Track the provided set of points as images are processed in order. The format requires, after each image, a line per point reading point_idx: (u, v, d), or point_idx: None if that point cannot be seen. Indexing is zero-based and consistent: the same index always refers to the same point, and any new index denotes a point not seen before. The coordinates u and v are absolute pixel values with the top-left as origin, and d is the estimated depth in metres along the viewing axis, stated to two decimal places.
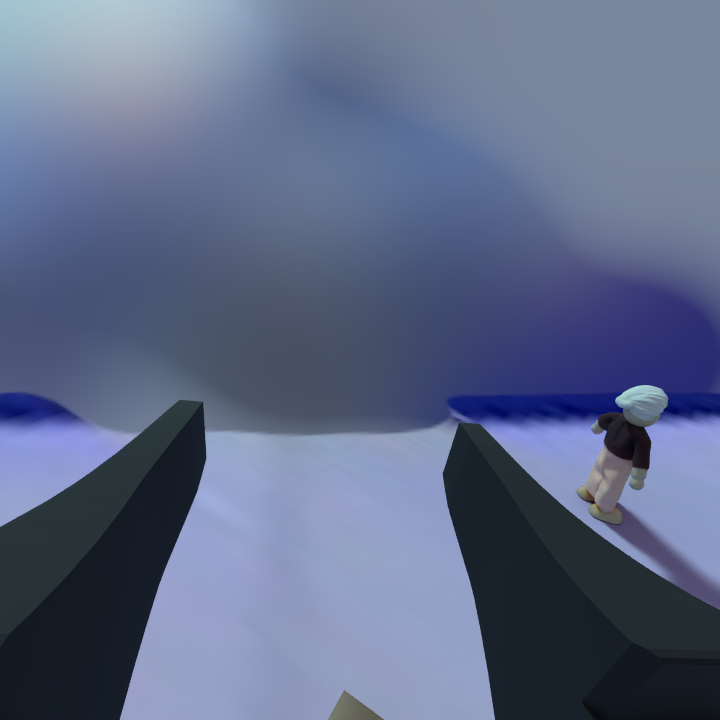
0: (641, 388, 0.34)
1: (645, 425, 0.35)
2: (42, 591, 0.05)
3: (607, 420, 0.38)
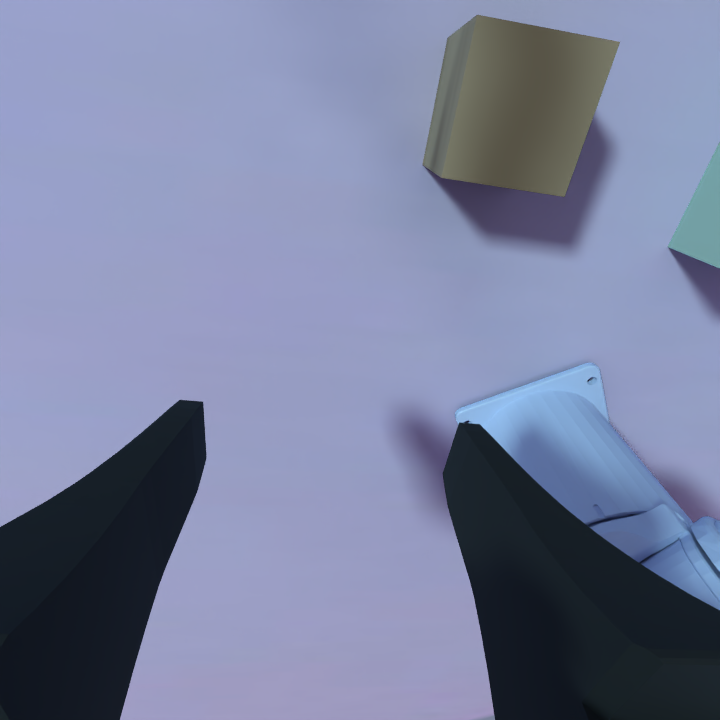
0: None
1: None
2: (42, 591, 0.05)
3: None
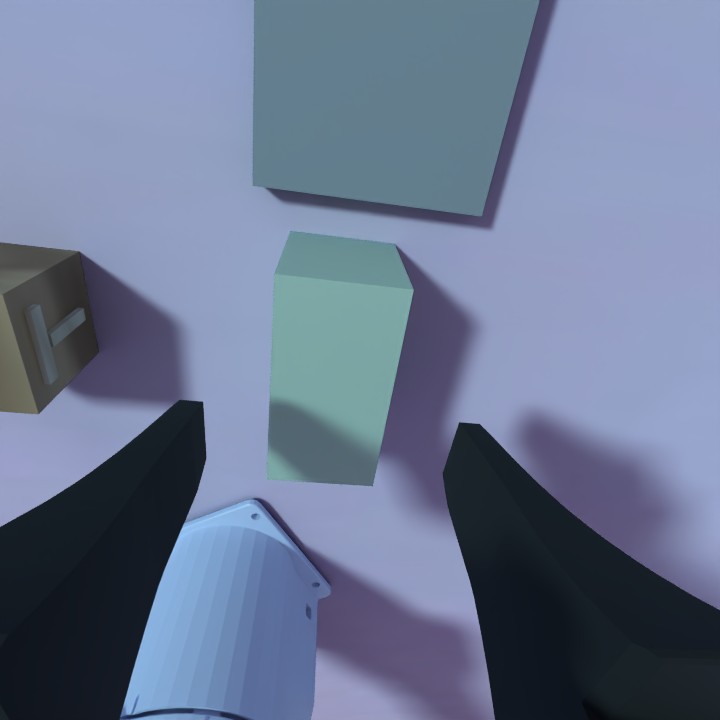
0: None
1: None
2: (42, 591, 0.05)
3: None
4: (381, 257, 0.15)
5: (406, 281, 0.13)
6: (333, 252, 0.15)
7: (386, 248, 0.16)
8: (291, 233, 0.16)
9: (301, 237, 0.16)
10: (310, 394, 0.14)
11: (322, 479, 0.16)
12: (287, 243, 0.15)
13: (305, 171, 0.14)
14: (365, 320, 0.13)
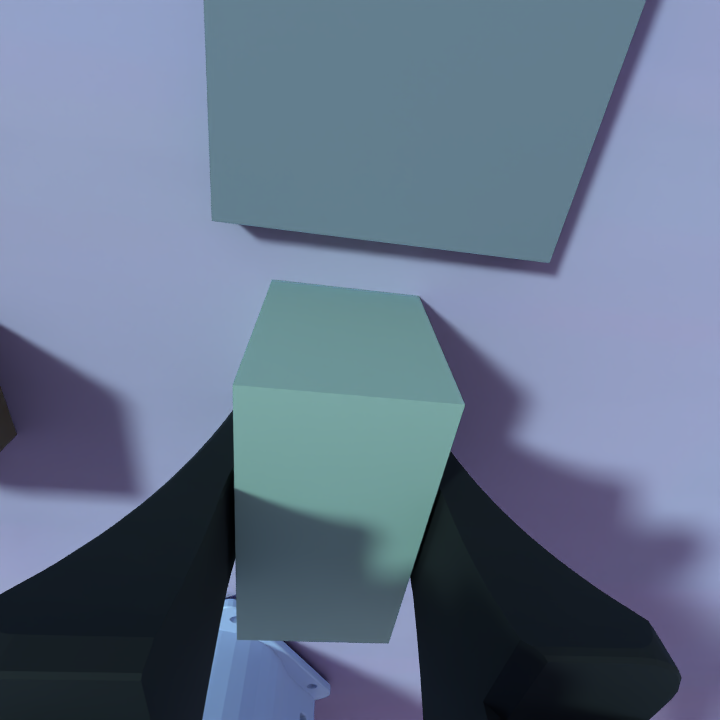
0: None
1: None
2: (167, 595, 0.06)
3: None
4: (404, 328, 0.10)
5: (449, 383, 0.08)
6: (332, 323, 0.10)
7: (409, 308, 0.11)
8: (272, 286, 0.11)
9: (285, 293, 0.11)
10: (297, 543, 0.09)
11: (316, 638, 0.11)
12: (263, 308, 0.10)
13: (290, 199, 0.09)
14: (383, 448, 0.08)
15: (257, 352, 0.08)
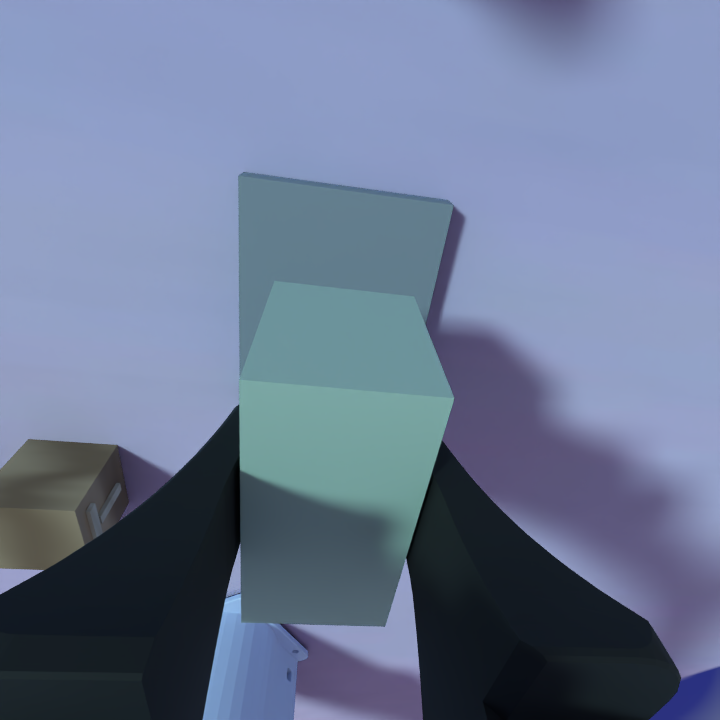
0: None
1: None
2: (167, 595, 0.06)
3: None
4: (399, 327, 0.10)
5: (441, 378, 0.09)
6: (332, 322, 0.10)
7: (404, 308, 0.12)
8: (274, 287, 0.12)
9: (287, 293, 0.11)
10: (299, 528, 0.10)
11: (317, 621, 0.12)
12: (267, 308, 0.10)
13: None
14: (379, 439, 0.09)
15: (261, 349, 0.09)
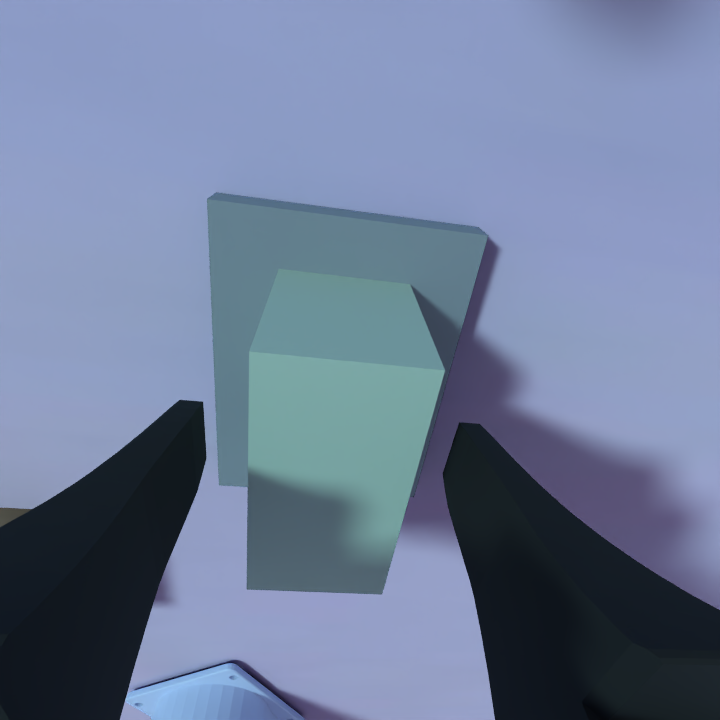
0: None
1: None
2: (42, 591, 0.05)
3: None
4: (395, 310, 0.11)
5: (433, 354, 0.09)
6: (333, 305, 0.11)
7: (401, 294, 0.12)
8: (279, 274, 0.12)
9: (291, 280, 0.12)
10: (302, 496, 0.11)
11: (318, 588, 0.13)
12: (272, 292, 0.11)
13: None
14: (376, 409, 0.09)
15: (268, 327, 0.09)
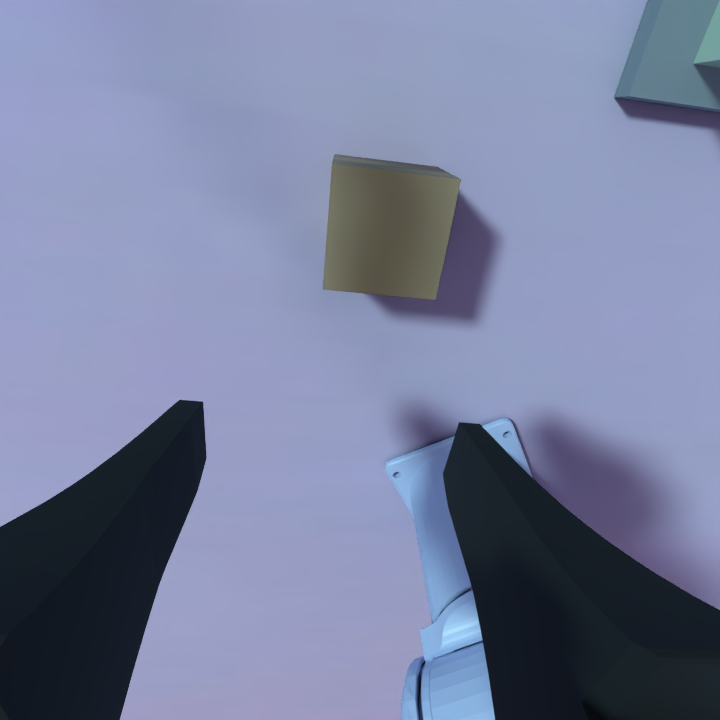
0: None
1: None
2: (42, 591, 0.05)
3: None
4: None
5: None
6: None
7: None
8: None
9: None
10: None
11: None
12: None
13: (679, 81, 0.16)
14: None
15: None
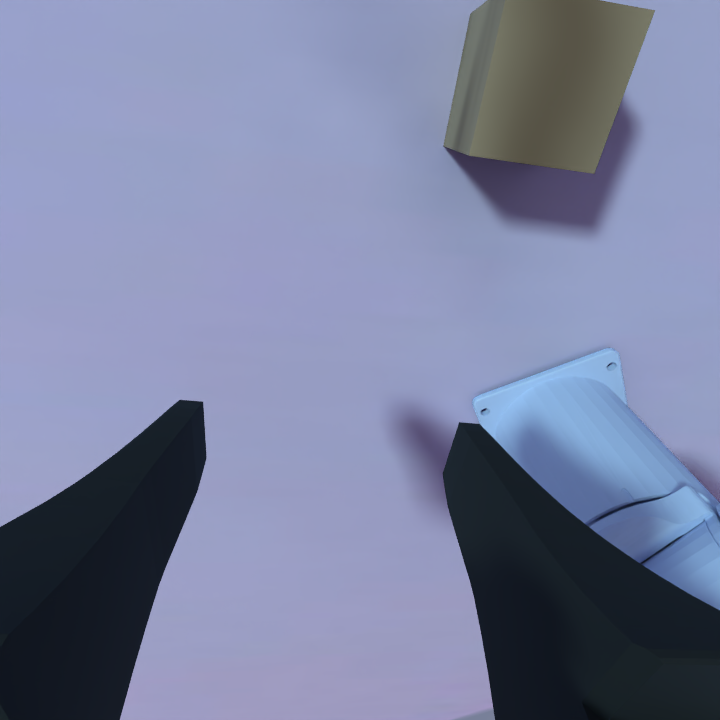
0: None
1: None
2: (42, 591, 0.05)
3: None
4: None
5: None
6: None
7: None
8: None
9: None
10: None
11: None
12: None
13: None
14: None
15: None
